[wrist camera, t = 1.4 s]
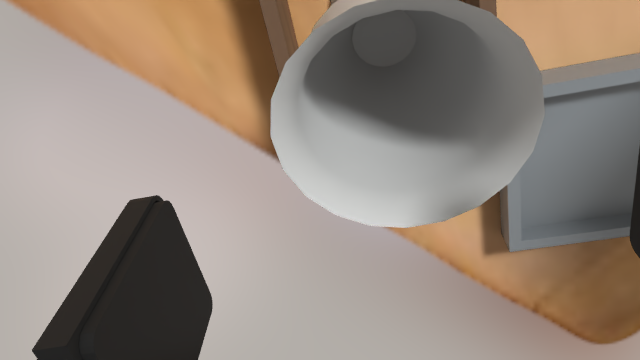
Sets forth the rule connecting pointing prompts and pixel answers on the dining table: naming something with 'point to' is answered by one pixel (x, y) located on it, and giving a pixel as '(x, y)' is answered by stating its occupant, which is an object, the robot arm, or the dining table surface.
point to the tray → (579, 159)
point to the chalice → (406, 110)
